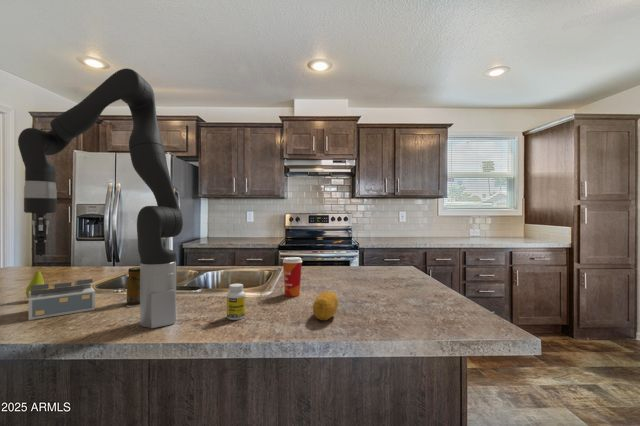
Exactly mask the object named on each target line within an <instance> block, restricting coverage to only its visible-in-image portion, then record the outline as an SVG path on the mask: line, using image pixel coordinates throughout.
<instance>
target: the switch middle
mask: <svg viewBox="0 0 640 426" xmlns="http://www.w3.org/2000/svg"><path fill="white" fill-rule="evenodd" d="M52 284H53V286H52V287H53V288H62V287H70V286H72V282H71V281H62V282H53V283H52Z"/></svg>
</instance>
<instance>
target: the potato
mask: <svg viewBox="0 0 640 426" xmlns="http://www.w3.org/2000/svg"><path fill="white" fill-rule="evenodd" d="M338 308H339V300H338V296H337V295H336V293H335V292H333V291H328V290H326V291H323V292H321V293H320V294H319V295H318V296H317V297H316V298H315V300H314V301H313V304H312V313H313V315H314V316H315V318H316V319H318V320H320V321H328V320H329V319H330V318H331V317H333V316H334V315H335V314H336V312H337V310H338Z"/></svg>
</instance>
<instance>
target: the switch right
mask: <svg viewBox="0 0 640 426" xmlns="http://www.w3.org/2000/svg"><path fill="white" fill-rule="evenodd" d="M73 283H74V284H73V286H79V285H87V284H93V283H94V281H93V278H89V279H82V280H74V282H73Z"/></svg>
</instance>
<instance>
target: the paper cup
mask: <svg viewBox="0 0 640 426" xmlns="http://www.w3.org/2000/svg"><path fill="white" fill-rule="evenodd" d="M302 264H303V260H302V258H301V257H296V256H289V257H284V258H283V260H282V265H283V280H284V281H283V283H284V295H285V296H286V297H298V296H300V294H301V293H300V292H301V283H302V282H301V281H302V279H301V278H302V267H303V266H302Z"/></svg>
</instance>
